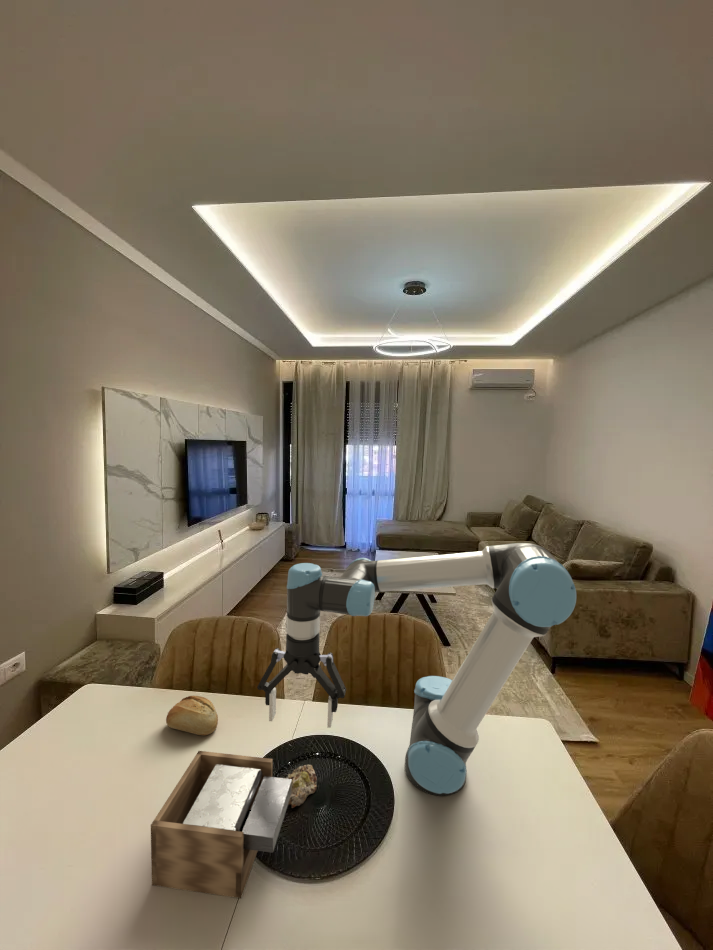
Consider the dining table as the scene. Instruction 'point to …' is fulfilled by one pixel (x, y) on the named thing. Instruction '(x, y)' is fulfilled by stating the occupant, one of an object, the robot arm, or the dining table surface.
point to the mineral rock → (302, 784)
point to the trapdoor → (243, 805)
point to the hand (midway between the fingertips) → (301, 720)
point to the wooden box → (201, 835)
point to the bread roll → (193, 716)
